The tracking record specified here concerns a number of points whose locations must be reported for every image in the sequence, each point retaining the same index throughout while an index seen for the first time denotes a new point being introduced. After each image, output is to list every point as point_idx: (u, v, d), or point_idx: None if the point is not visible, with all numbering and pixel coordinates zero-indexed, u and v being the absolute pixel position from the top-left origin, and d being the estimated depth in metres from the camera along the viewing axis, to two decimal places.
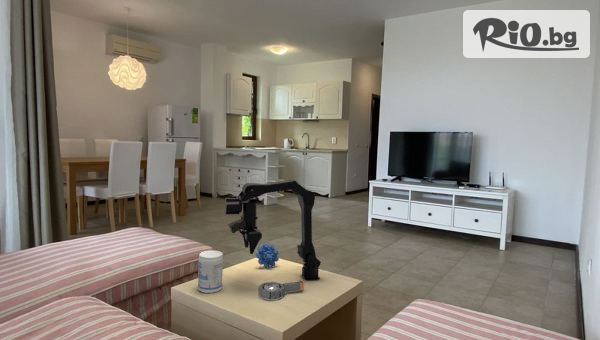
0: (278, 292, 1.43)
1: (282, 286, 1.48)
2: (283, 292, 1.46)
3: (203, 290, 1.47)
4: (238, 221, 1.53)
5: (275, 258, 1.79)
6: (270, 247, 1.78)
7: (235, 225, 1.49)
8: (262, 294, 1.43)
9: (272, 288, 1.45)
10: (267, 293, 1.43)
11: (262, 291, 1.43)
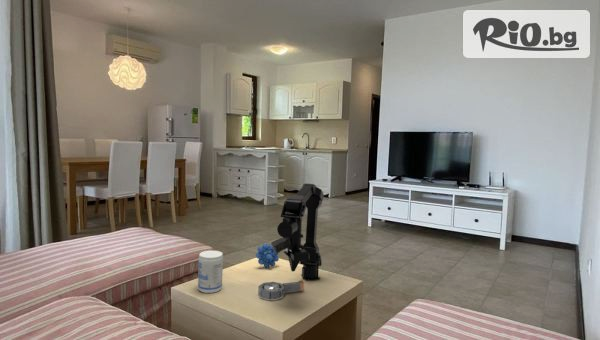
0: (278, 292, 1.43)
1: (282, 286, 1.48)
2: (283, 292, 1.46)
3: (203, 290, 1.47)
4: (282, 239, 1.41)
5: (275, 258, 1.79)
6: (270, 247, 1.78)
7: (280, 244, 1.36)
8: (262, 294, 1.43)
9: (272, 288, 1.45)
10: (267, 293, 1.43)
11: (262, 291, 1.43)
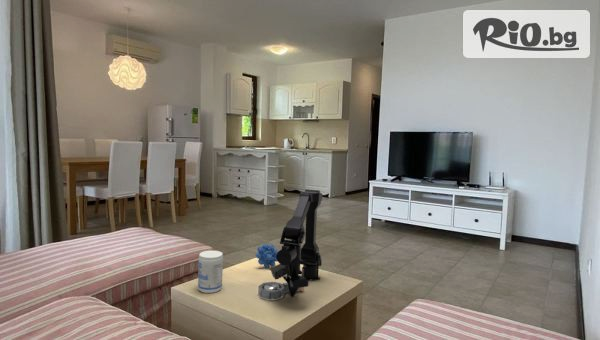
0: (278, 292, 1.43)
1: (282, 286, 1.48)
2: (283, 292, 1.46)
3: (203, 290, 1.47)
4: (281, 266, 1.42)
5: (275, 258, 1.79)
6: (270, 247, 1.78)
7: (279, 271, 1.37)
8: (262, 294, 1.43)
9: (272, 288, 1.45)
10: (267, 293, 1.43)
11: (262, 291, 1.43)
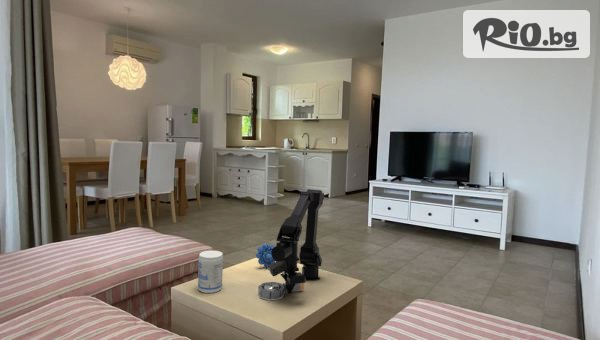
0: (278, 292, 1.43)
1: (282, 286, 1.48)
2: (283, 292, 1.46)
3: (203, 290, 1.47)
4: (278, 263, 1.45)
5: None
6: (270, 247, 1.78)
7: (277, 268, 1.40)
8: (262, 294, 1.43)
9: (272, 288, 1.45)
10: (267, 293, 1.43)
11: (262, 291, 1.43)
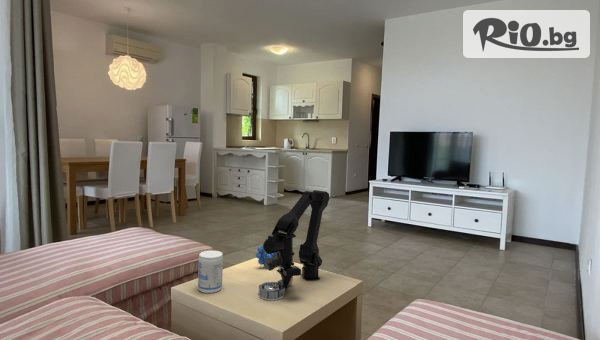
0: (283, 290, 1.46)
1: (279, 284, 1.50)
2: None
3: (203, 290, 1.47)
4: (274, 258, 1.49)
5: None
6: None
7: (273, 262, 1.44)
8: (269, 295, 1.42)
9: (272, 288, 1.45)
10: (275, 293, 1.43)
11: (269, 292, 1.42)
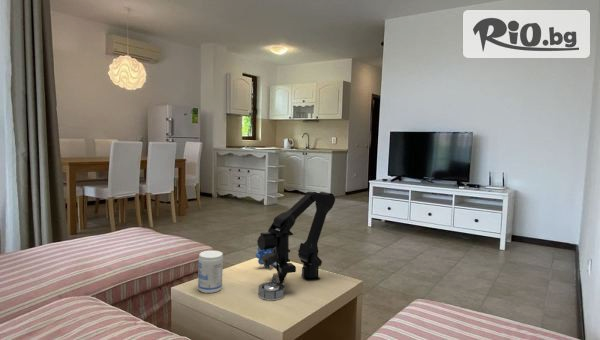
0: (284, 287, 1.48)
1: (275, 282, 1.51)
2: None
3: (203, 290, 1.47)
4: (271, 254, 1.54)
5: None
6: None
7: (269, 259, 1.50)
8: (276, 295, 1.43)
9: (272, 288, 1.45)
10: (280, 291, 1.44)
11: (276, 292, 1.43)
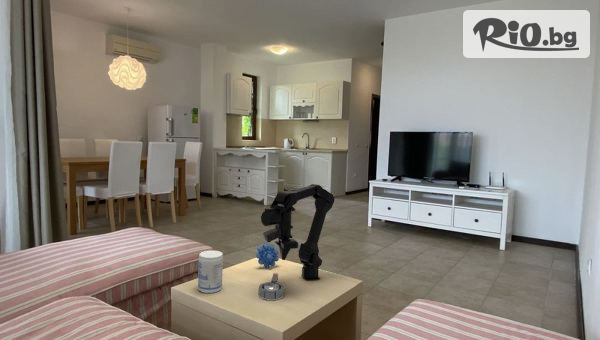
0: (284, 286, 1.48)
1: (275, 282, 1.51)
2: None
3: (203, 290, 1.47)
4: (273, 230, 1.52)
5: (275, 258, 1.79)
6: (270, 247, 1.78)
7: (271, 234, 1.47)
8: (276, 295, 1.43)
9: (272, 288, 1.45)
10: (280, 291, 1.44)
11: (276, 292, 1.43)
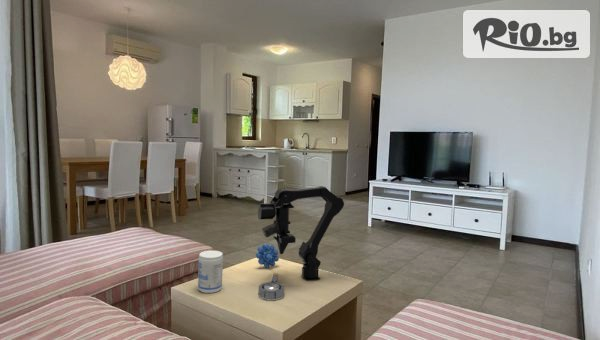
0: (284, 286, 1.48)
1: (275, 282, 1.51)
2: None
3: (203, 290, 1.47)
4: (271, 225, 1.59)
5: (275, 258, 1.79)
6: (270, 247, 1.78)
7: (269, 229, 1.54)
8: (276, 295, 1.43)
9: (272, 288, 1.45)
10: (280, 291, 1.44)
11: (276, 292, 1.43)
